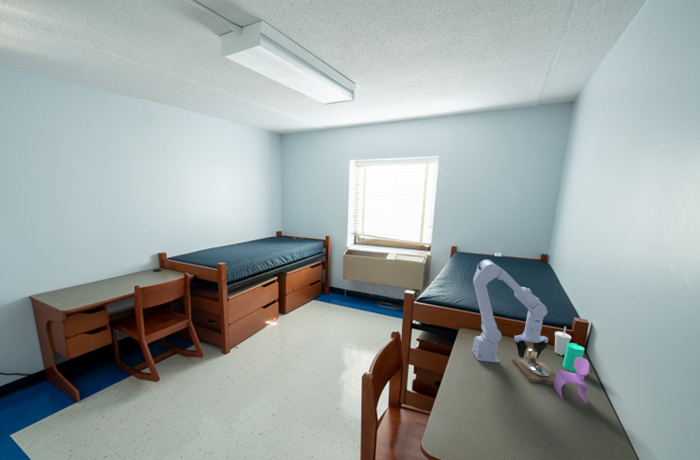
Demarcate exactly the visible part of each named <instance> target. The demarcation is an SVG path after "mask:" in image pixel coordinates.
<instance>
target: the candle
mask: <svg viewBox="0 0 700 460" xmlns="http://www.w3.org/2000/svg"><path fill="white" fill-rule="evenodd" d="M584 353H585V348H584V347H583V346H581V345H579V344H577V342H575V343H574V342H573V343H572V342H569V343H567V347H566V352H565V354H564V357H563V362H562V367H563V368H564V369H566V370H567V371H568V372H571V373H577V371H576V370H575V368H574V362H575V359H576V358H577V357H581V358H584Z"/></svg>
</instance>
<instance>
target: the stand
mask: <svg viewBox="0 0 700 460" xmlns="http://www.w3.org/2000/svg"><path fill="white" fill-rule="evenodd" d="M536 362H537V364H538V365H540V366H542V367H544V368H546V369H547V370H548V371H549V372H550V375H549V376H548V377H543V376H539V375H536V374H534V373H533V372H531V371H530V370H529V369H528V364H532V363H531V362H530V361H529V360H528V359H518V358H512V363H513V365H514V366H515V367H516V368H517V370H518V371H519V372H520V373H521V374H522V375H523V376H524V377H525V379H526V380H527V382H529V383H536V382H538V383H539V384H544V383H546V385H552V384H553V386H554V383H555V375H556V372H554V371H553V370H552V369H551V368H550V367H548V366H547V365H546V364H545V363H544V362H543V361H537V360H536Z"/></svg>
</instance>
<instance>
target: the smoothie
mask: <svg viewBox="0 0 700 460" xmlns="http://www.w3.org/2000/svg"><path fill="white" fill-rule="evenodd" d="M566 330H567V326H564V327H563V331H559V330H558V331H555V332H554V338H555V339H554V353H555V352H556V353H557V354H556V353H555V354H556V355H558V354H560V355H559V356H562V355H564V356H565V352H566V347H567V343H571V342H570V341H571V340H572V336H571V335H569V334H568V333H566Z"/></svg>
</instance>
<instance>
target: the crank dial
mask: <svg viewBox="0 0 700 460" xmlns="http://www.w3.org/2000/svg"><path fill="white" fill-rule="evenodd" d="M537 353H538V351H537V350H535V349H533V348H532V347H527V352H526V360H529V361H530V362H531V363H532V364H528V369H529V370H530V371H531V372H533V373H534V374H536V375H539V376H543V377H548V376H549V375H550V372H549V371H548V370H547V369H546V368H544V367H542V366H540V365H538V364H537V362H538V361H537V359H538V358H537ZM536 361H537V362H536Z"/></svg>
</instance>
